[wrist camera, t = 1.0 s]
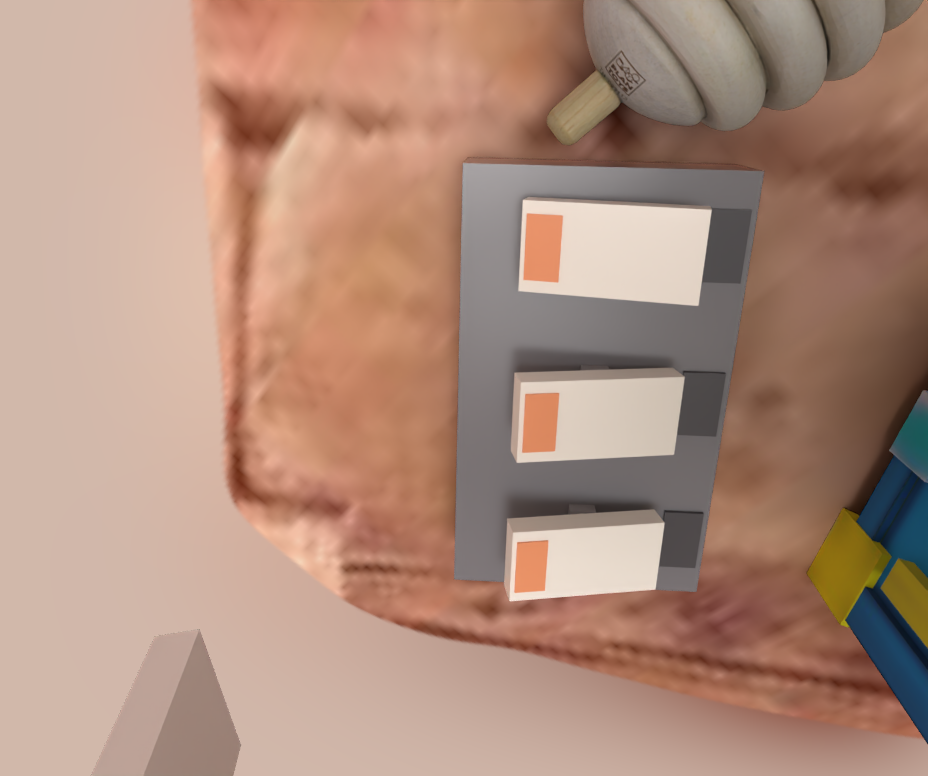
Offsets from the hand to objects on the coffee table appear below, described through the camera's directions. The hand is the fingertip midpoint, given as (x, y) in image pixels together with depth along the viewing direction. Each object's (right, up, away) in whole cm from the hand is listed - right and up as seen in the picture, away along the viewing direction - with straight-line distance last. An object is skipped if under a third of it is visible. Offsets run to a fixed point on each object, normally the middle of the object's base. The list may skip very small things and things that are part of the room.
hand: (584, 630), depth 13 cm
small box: (+3, -3, +21) cm, 21 cm away
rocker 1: (+4, +10, +16) cm, 19 cm away
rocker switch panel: (+4, +5, +24) cm, 25 cm away
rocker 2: (+4, +3, +18) cm, 19 cm away
